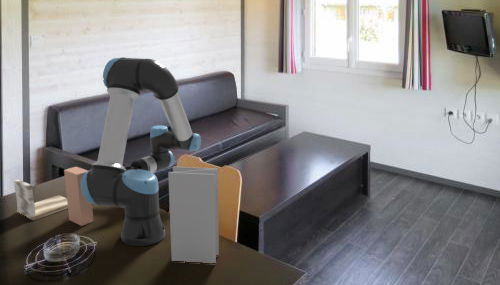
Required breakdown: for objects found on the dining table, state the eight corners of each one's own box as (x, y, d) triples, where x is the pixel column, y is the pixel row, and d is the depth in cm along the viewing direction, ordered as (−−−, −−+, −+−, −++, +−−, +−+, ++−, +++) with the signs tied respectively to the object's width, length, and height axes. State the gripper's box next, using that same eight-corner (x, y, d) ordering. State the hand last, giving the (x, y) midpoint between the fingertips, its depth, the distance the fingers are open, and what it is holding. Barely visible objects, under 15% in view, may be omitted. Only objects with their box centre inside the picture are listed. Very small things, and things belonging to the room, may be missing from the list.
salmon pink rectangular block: (93, 221, 177) (89, 170, 172) (81, 225, 173) (76, 174, 168) (80, 215, 182) (76, 166, 176) (69, 220, 178) (64, 169, 172)
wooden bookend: (75, 205, 191) (72, 174, 187) (33, 220, 177) (29, 186, 173) (59, 198, 198) (55, 167, 194) (17, 212, 184) (12, 179, 180)
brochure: (218, 255, 154) (218, 168, 146) (215, 264, 148) (215, 174, 140) (176, 253, 155) (173, 166, 147) (171, 261, 150) (168, 172, 142)
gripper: (164, 182, 193) (122, 198, 177) (124, 169, 207) (82, 183, 191) (163, 164, 191) (121, 179, 175) (123, 153, 205) (80, 165, 189)
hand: (100, 181), depth 183 cm, fingers open, 13 cm apart
